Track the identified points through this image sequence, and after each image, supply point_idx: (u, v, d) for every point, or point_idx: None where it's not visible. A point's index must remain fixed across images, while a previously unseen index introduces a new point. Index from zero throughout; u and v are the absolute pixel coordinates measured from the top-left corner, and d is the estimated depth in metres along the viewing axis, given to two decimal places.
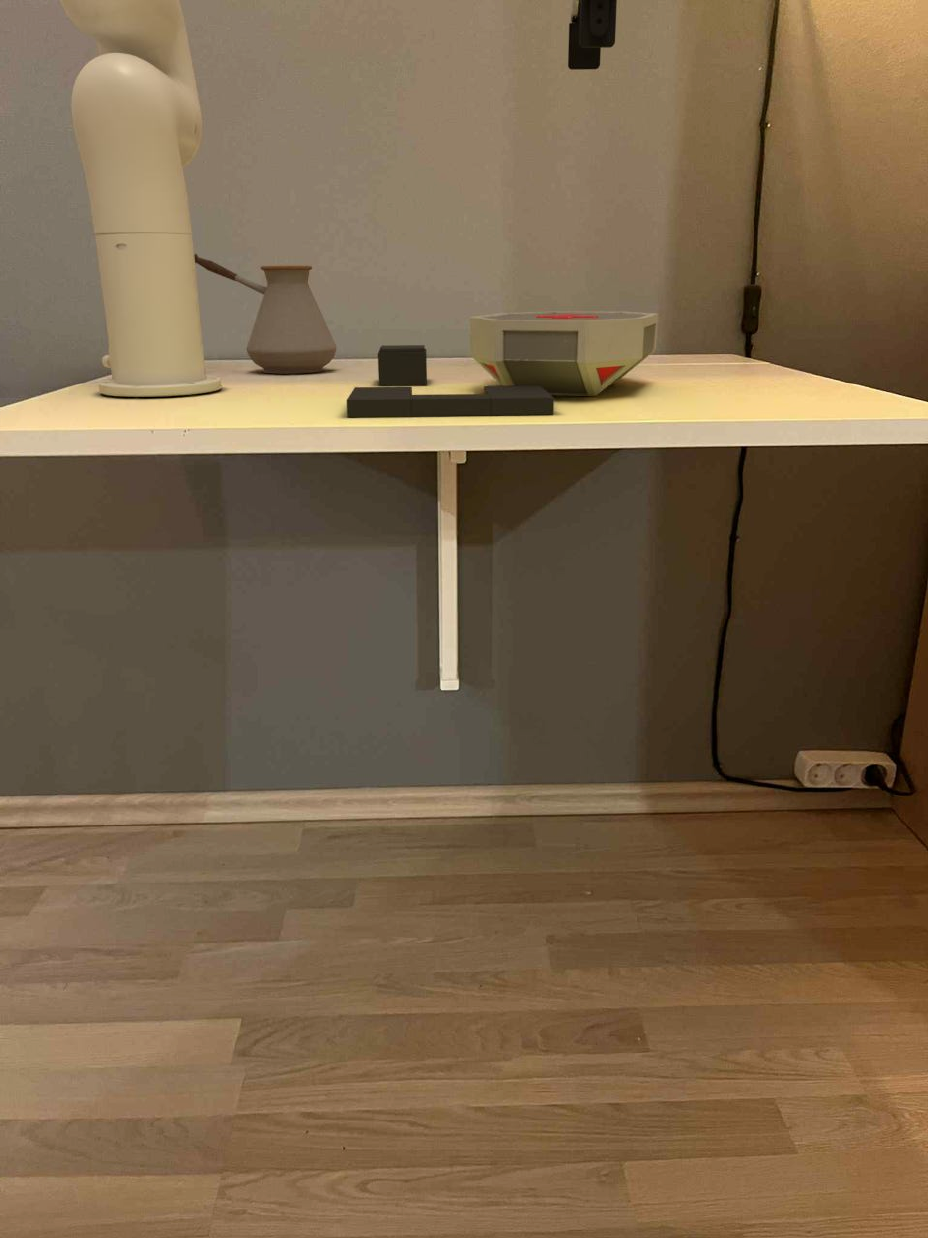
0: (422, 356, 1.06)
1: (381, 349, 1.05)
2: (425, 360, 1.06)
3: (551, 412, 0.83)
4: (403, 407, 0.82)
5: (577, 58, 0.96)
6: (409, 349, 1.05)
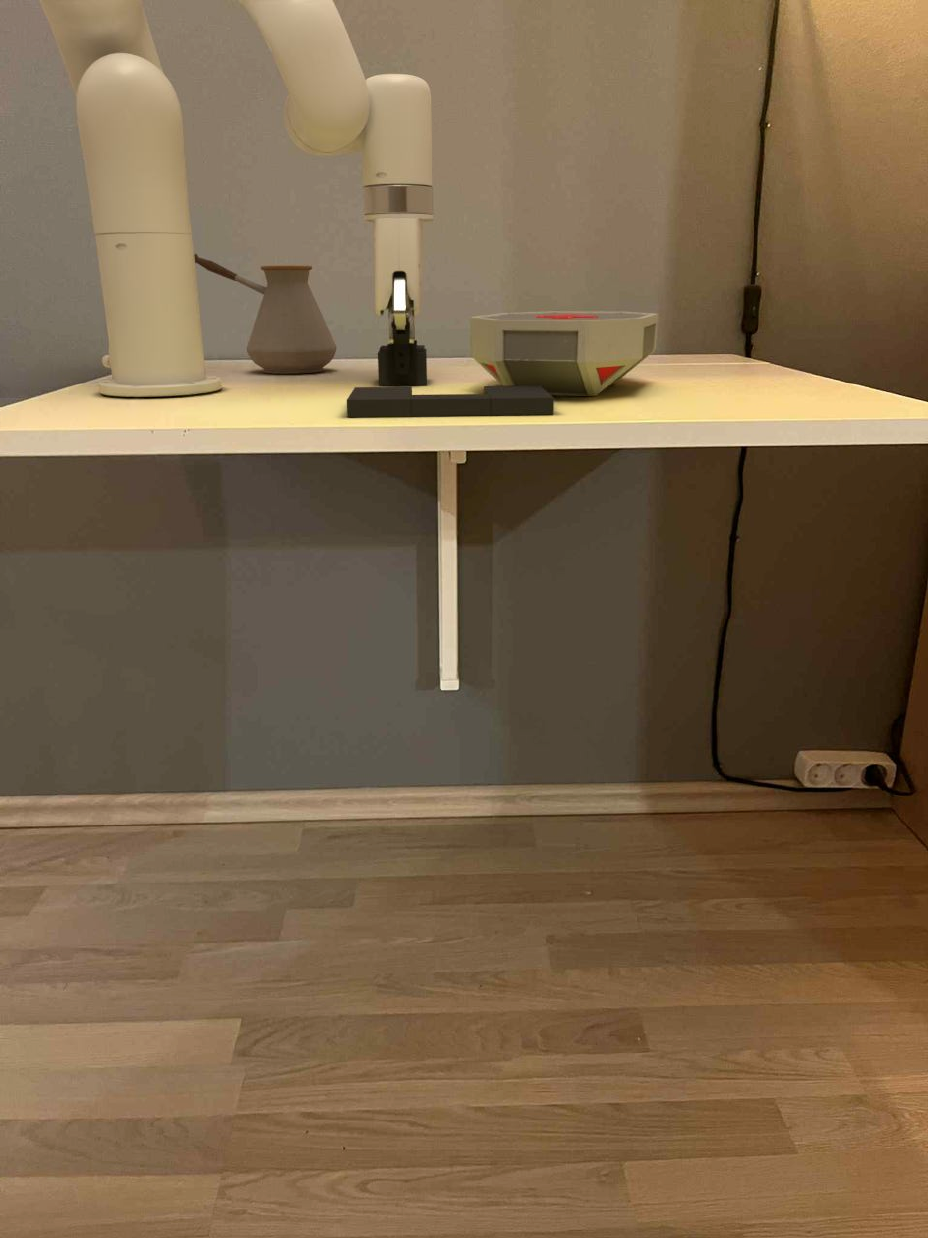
0: (422, 356, 1.06)
1: (381, 349, 1.05)
2: (425, 360, 1.06)
3: (551, 412, 0.83)
4: (403, 407, 0.82)
5: None
6: None
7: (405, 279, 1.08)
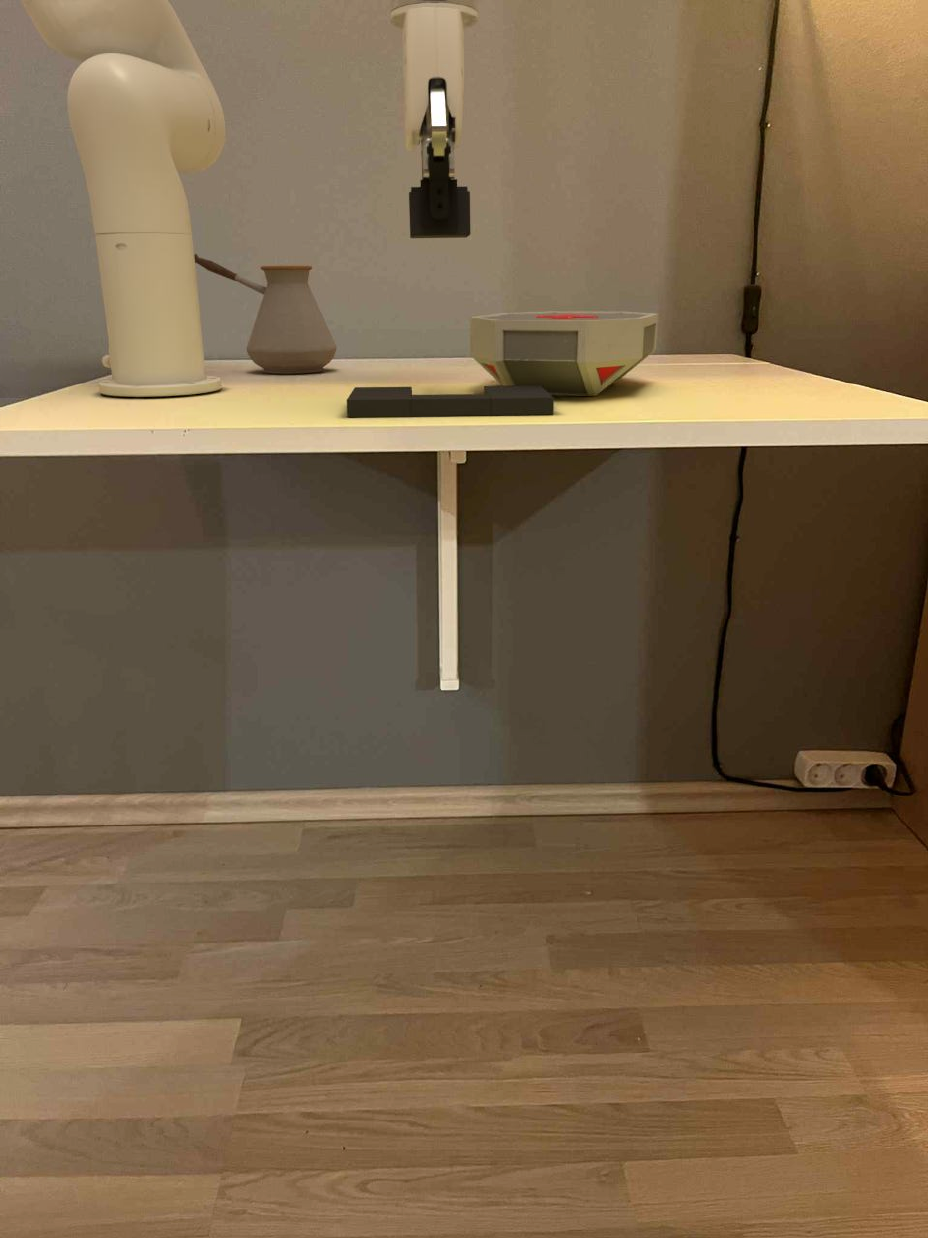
0: (464, 197, 0.84)
1: (413, 188, 0.84)
2: (468, 202, 0.84)
3: (551, 412, 0.83)
4: (403, 407, 0.82)
5: None
6: None
7: None
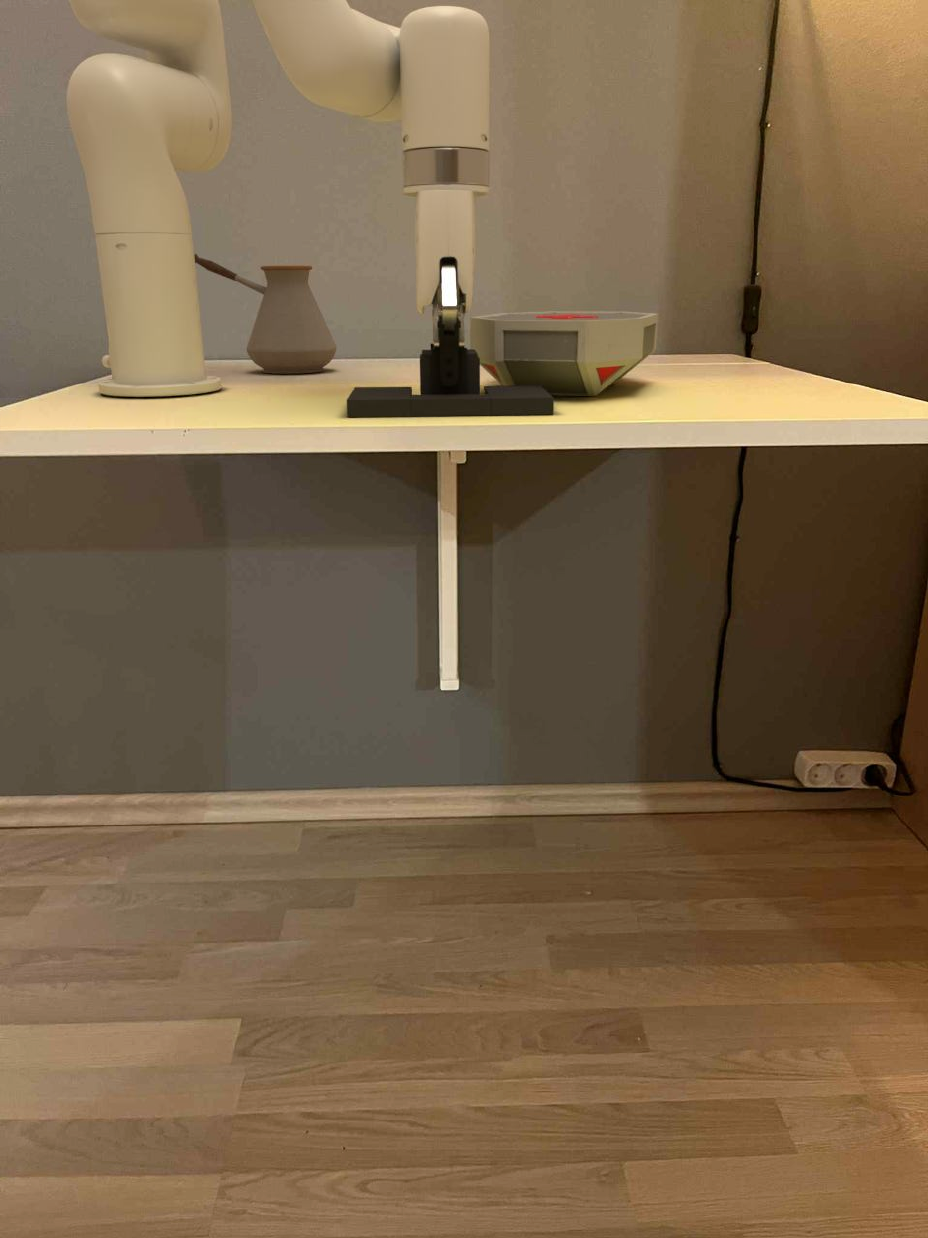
0: (474, 363, 0.85)
1: (424, 355, 0.85)
2: (478, 368, 0.85)
3: (551, 412, 0.83)
4: (403, 407, 0.82)
5: None
6: None
7: None
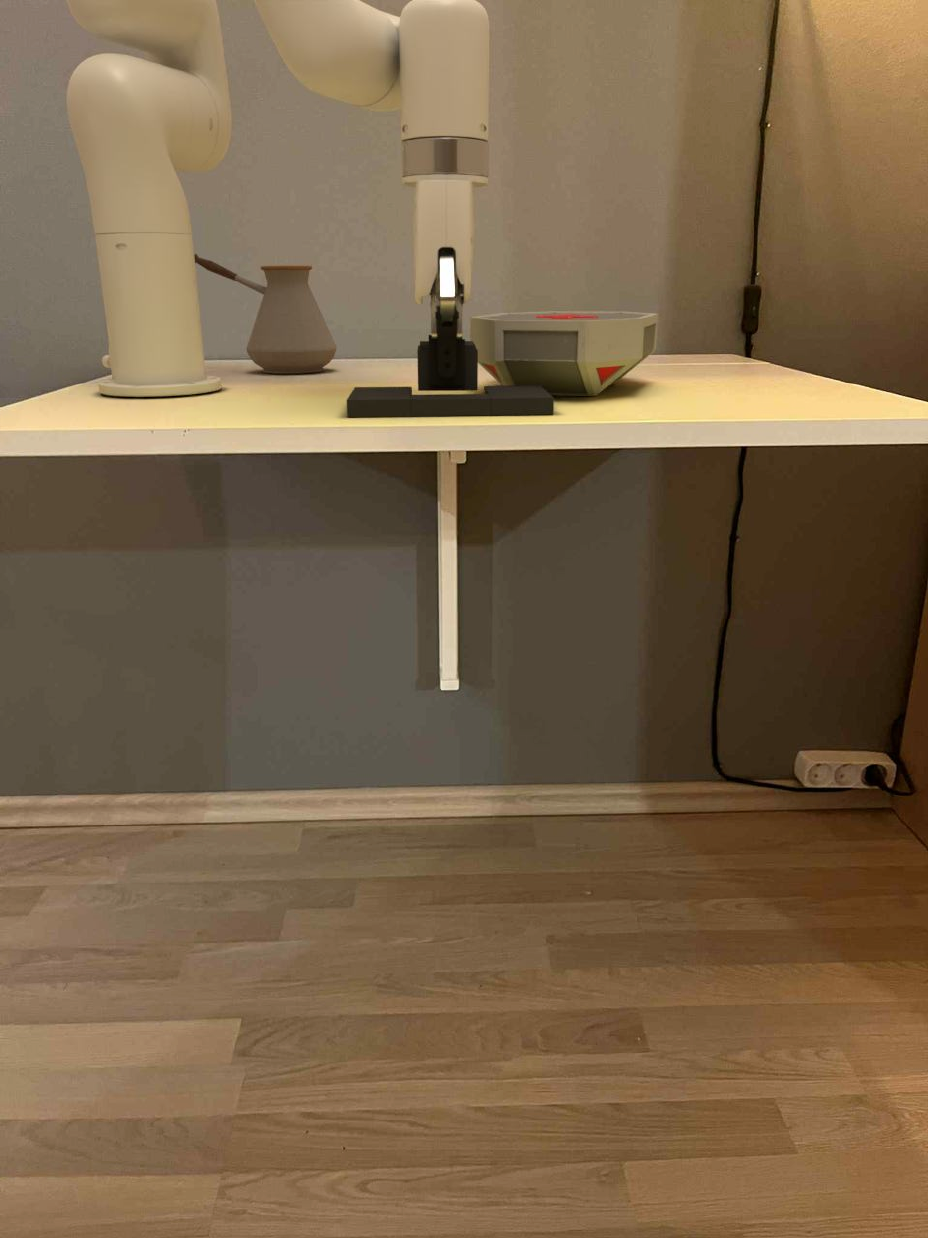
0: (472, 355, 0.85)
1: (422, 346, 0.85)
2: (476, 360, 0.85)
3: (551, 412, 0.83)
4: (403, 407, 0.82)
5: None
6: None
7: None
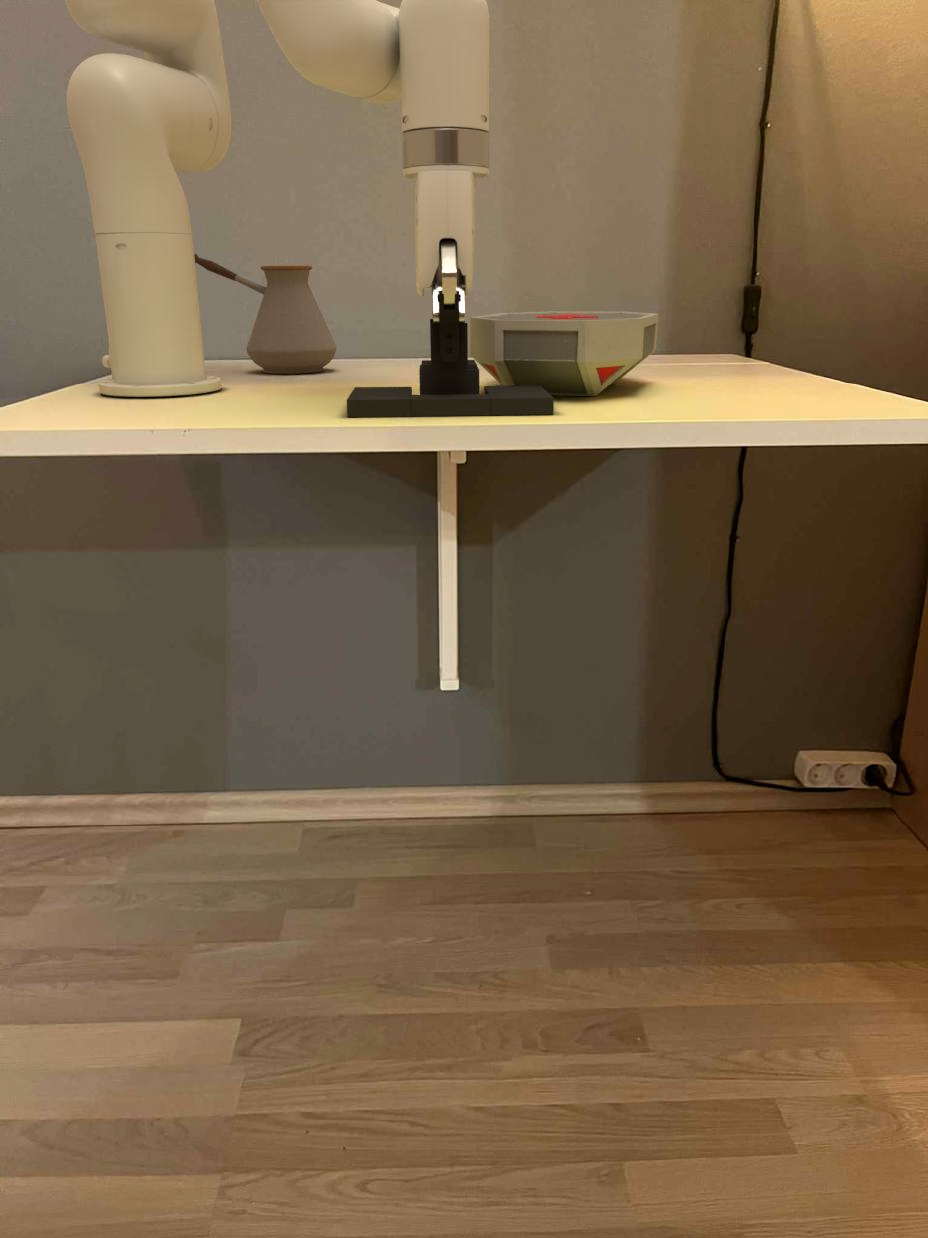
0: (474, 374, 0.86)
1: (423, 366, 0.85)
2: (478, 379, 0.86)
3: (551, 412, 0.83)
4: (403, 407, 0.82)
5: None
6: None
7: None
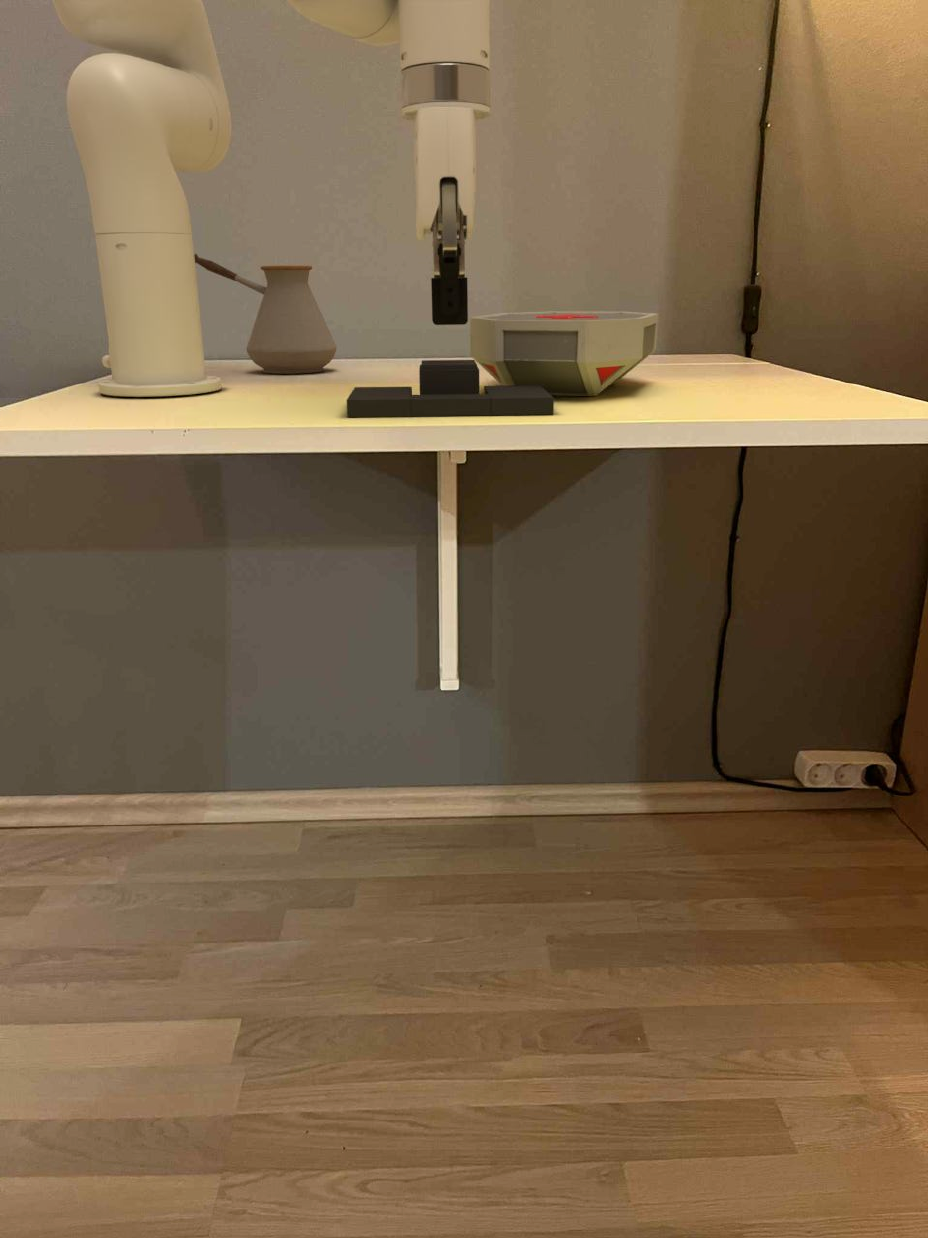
0: (474, 374, 0.86)
1: (423, 366, 0.85)
2: (478, 379, 0.86)
3: (551, 412, 0.83)
4: (403, 407, 0.82)
5: None
6: (458, 366, 0.85)
7: None
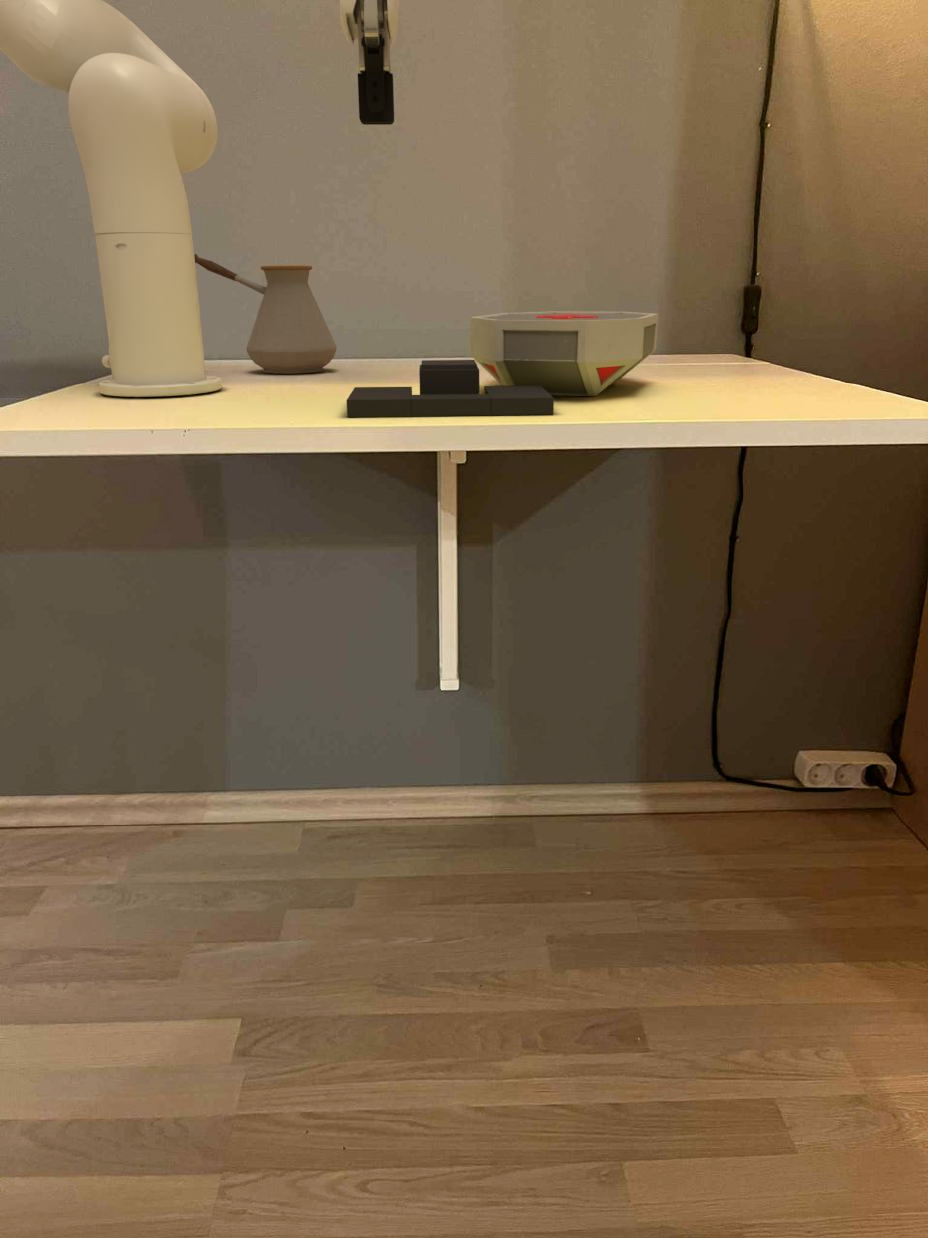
0: (474, 374, 0.86)
1: (423, 366, 0.85)
2: (478, 379, 0.86)
3: (551, 412, 0.83)
4: (403, 407, 0.82)
5: None
6: (458, 366, 0.85)
7: None
